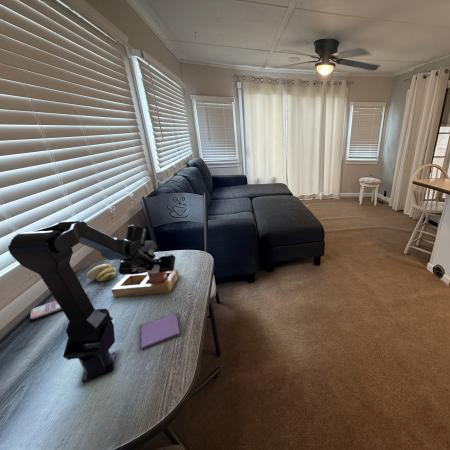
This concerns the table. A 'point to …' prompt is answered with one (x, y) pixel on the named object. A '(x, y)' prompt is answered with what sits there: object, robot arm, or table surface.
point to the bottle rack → (143, 285)
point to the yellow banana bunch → (101, 272)
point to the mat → (159, 330)
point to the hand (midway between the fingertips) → (158, 269)
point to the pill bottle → (157, 275)
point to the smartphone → (45, 310)
